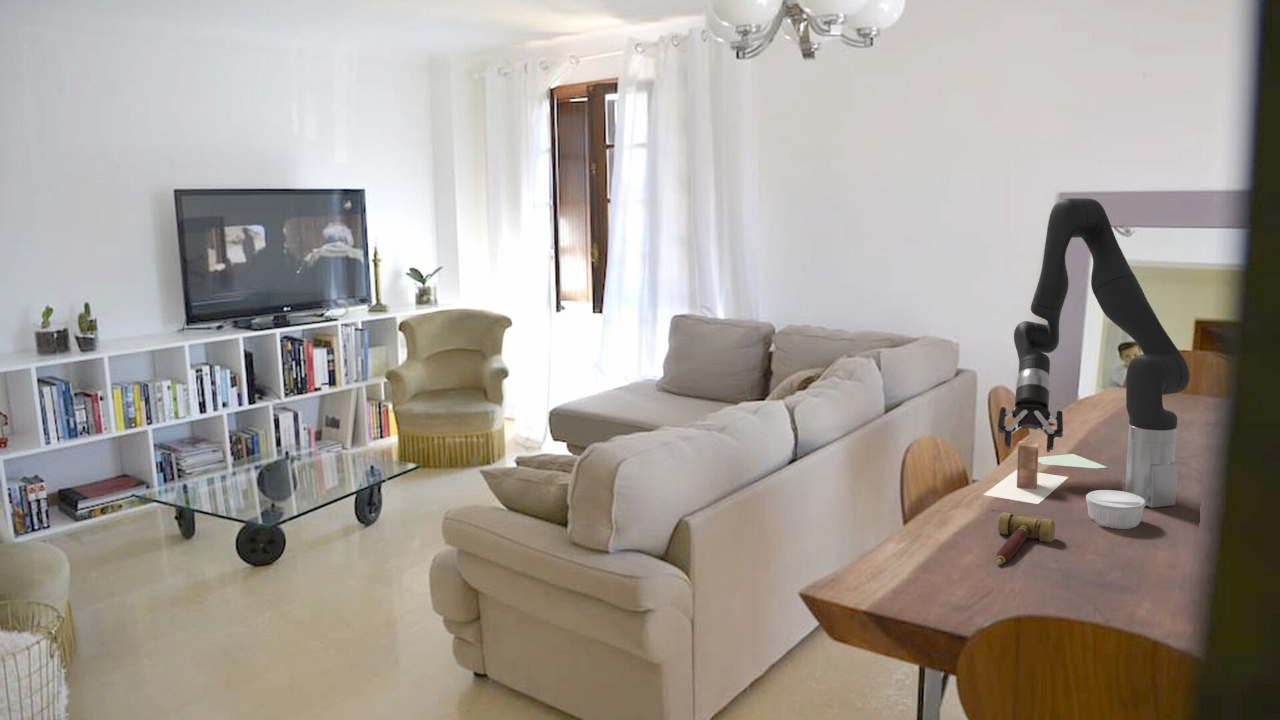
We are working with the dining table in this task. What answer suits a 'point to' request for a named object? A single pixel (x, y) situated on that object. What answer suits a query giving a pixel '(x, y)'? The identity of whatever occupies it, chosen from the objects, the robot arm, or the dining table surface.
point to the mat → (1069, 461)
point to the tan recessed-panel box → (1027, 465)
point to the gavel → (1021, 533)
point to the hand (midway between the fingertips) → (1028, 448)
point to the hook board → (1035, 496)
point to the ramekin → (1115, 508)
